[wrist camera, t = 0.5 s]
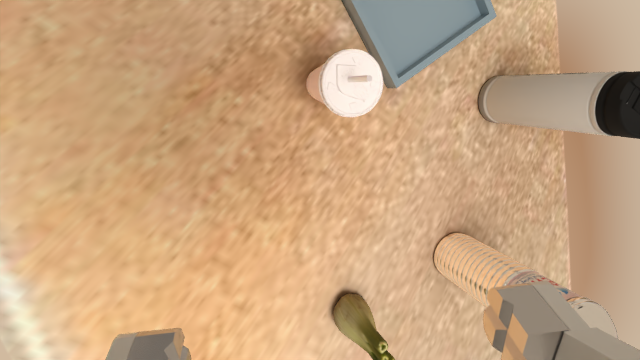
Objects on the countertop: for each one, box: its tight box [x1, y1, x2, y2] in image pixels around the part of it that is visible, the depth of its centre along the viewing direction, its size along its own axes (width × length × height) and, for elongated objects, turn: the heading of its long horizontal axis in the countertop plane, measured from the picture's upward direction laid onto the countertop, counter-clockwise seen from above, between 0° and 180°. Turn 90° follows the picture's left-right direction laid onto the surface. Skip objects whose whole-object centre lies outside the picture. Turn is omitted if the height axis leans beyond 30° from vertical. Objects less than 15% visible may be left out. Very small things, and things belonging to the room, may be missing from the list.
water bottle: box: [434, 233, 618, 339], centre depth 46 cm, size 7×7×25 cm
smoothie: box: [306, 49, 383, 117], centre depth 40 cm, size 6×6×14 cm
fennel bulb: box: [333, 294, 395, 360], centre depth 49 cm, size 6×5×12 cm
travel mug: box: [478, 72, 640, 139], centre depth 45 cm, size 6×7×20 cm
